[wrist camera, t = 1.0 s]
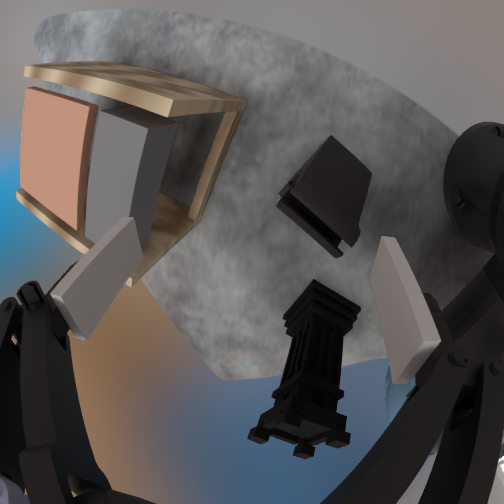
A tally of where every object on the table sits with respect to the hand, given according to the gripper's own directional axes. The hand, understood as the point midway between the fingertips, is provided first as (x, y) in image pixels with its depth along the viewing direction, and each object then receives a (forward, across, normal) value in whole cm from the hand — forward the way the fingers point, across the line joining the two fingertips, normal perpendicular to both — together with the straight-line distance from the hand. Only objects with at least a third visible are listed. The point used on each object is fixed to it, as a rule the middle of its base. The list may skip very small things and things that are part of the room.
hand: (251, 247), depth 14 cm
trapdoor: (+10, +18, -3) cm, 20 cm away
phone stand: (+18, -6, +2) cm, 19 cm away
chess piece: (+16, -8, +20) cm, 27 cm away
